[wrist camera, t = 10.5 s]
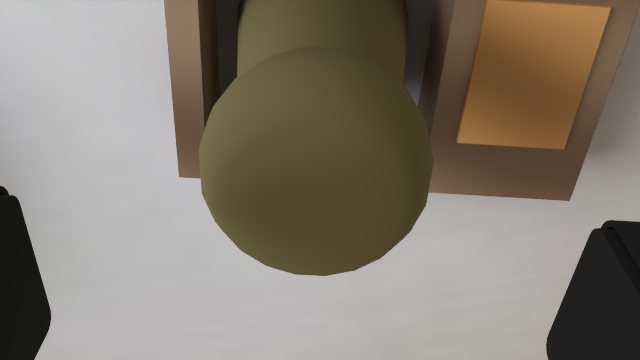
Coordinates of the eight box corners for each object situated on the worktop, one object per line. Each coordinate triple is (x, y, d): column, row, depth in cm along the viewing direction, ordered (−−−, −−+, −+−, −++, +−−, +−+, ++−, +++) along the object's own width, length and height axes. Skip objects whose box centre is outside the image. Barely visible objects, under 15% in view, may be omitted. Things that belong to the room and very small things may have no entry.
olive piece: (430, -42, 20) (512, 108, 11) (383, 116, 23) (414, 335, 14) (250, -83, 19) (173, 39, 10) (228, 85, 23) (154, 293, 13)
